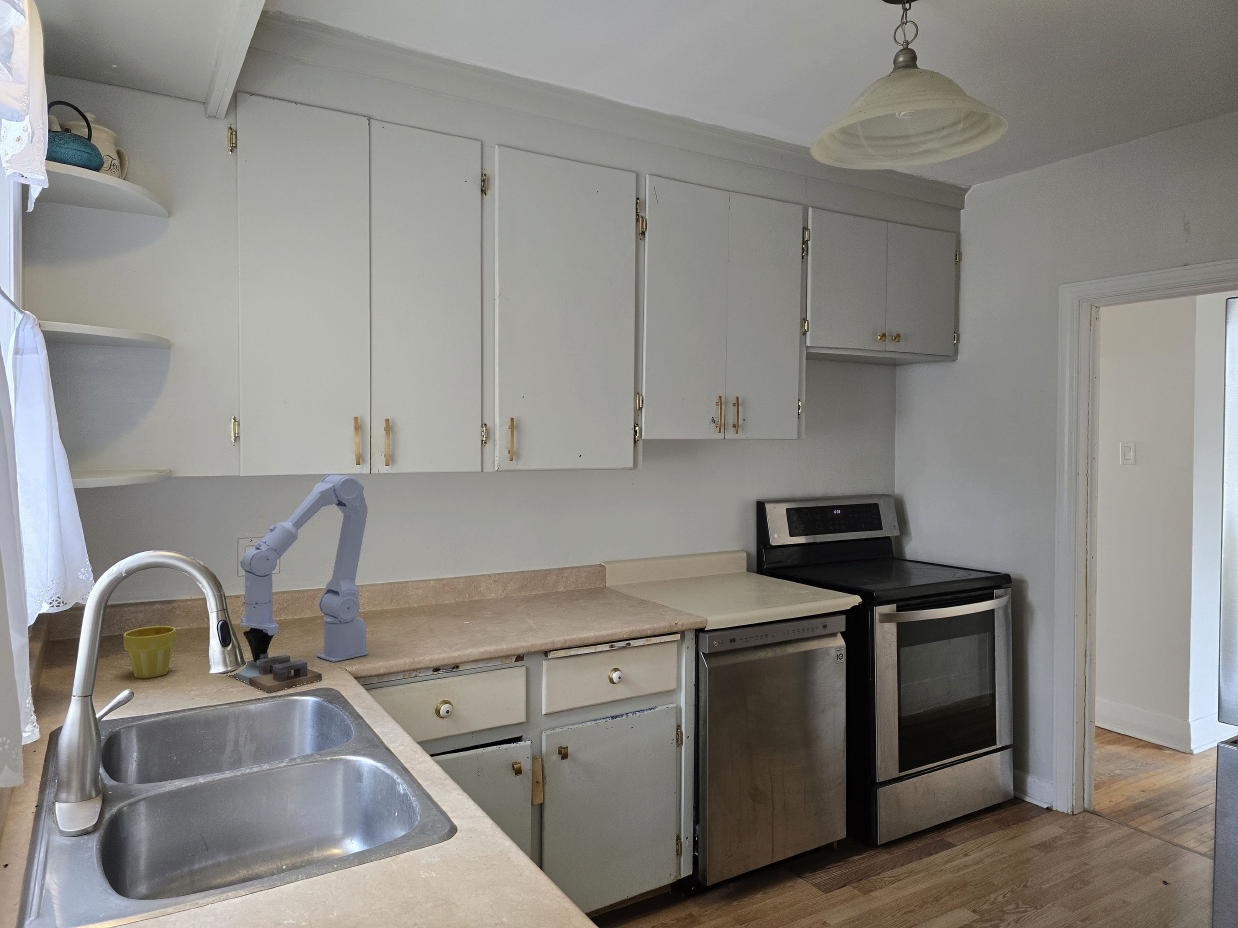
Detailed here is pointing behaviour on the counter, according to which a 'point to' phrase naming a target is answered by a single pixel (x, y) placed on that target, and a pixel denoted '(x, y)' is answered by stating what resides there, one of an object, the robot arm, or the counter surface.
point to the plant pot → (150, 650)
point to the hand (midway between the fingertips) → (259, 661)
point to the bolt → (264, 656)
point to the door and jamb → (277, 673)
